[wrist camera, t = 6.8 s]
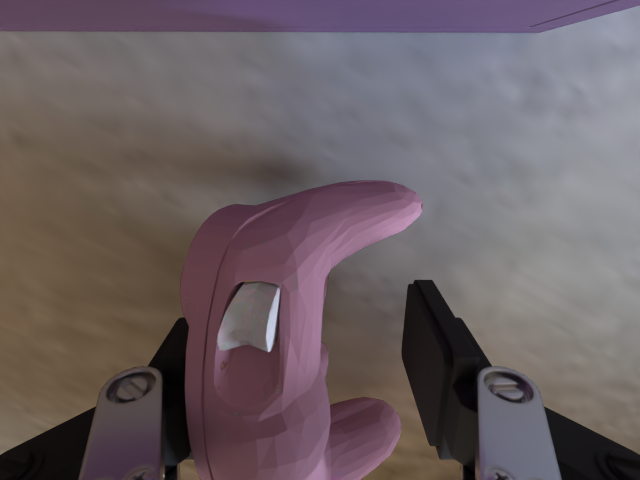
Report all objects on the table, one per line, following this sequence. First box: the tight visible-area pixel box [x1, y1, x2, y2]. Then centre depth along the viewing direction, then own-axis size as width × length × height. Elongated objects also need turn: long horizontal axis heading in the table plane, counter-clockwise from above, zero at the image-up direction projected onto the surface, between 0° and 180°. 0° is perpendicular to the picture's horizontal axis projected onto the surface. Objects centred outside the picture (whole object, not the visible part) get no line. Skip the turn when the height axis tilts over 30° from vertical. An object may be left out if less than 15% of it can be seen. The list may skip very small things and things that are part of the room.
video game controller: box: [180, 181, 422, 480], centre depth 10 cm, size 10×5×7 cm, turn 1°
